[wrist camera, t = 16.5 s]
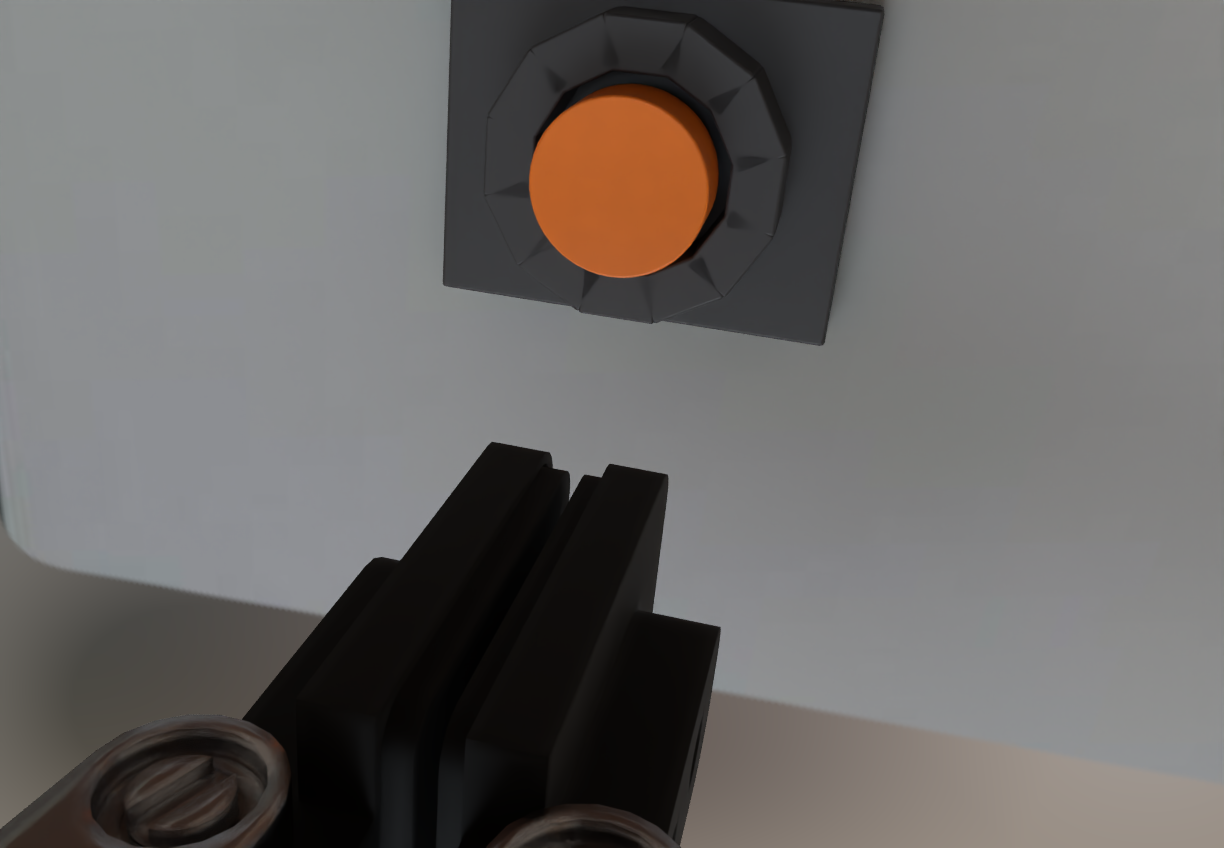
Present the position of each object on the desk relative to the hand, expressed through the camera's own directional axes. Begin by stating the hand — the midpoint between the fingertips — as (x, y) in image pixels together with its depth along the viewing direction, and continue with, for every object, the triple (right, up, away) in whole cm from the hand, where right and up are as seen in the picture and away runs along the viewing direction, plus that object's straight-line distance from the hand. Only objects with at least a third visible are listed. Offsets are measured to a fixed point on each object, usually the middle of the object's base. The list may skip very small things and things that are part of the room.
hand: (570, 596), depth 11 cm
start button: (+1, +7, +16) cm, 17 cm away
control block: (+1, +8, +18) cm, 20 cm away
